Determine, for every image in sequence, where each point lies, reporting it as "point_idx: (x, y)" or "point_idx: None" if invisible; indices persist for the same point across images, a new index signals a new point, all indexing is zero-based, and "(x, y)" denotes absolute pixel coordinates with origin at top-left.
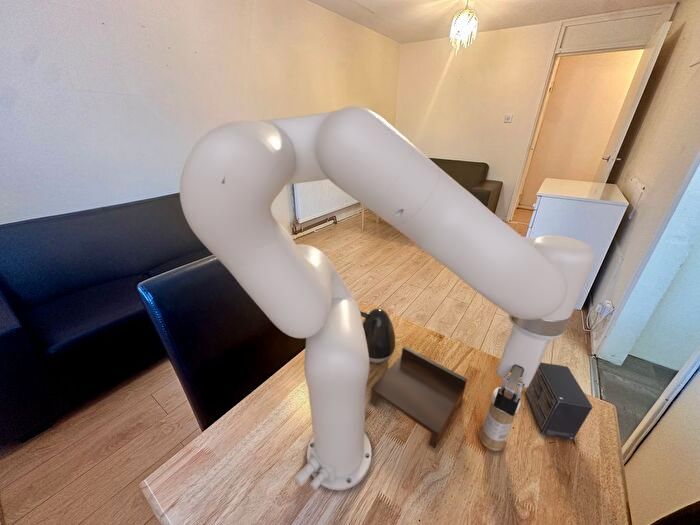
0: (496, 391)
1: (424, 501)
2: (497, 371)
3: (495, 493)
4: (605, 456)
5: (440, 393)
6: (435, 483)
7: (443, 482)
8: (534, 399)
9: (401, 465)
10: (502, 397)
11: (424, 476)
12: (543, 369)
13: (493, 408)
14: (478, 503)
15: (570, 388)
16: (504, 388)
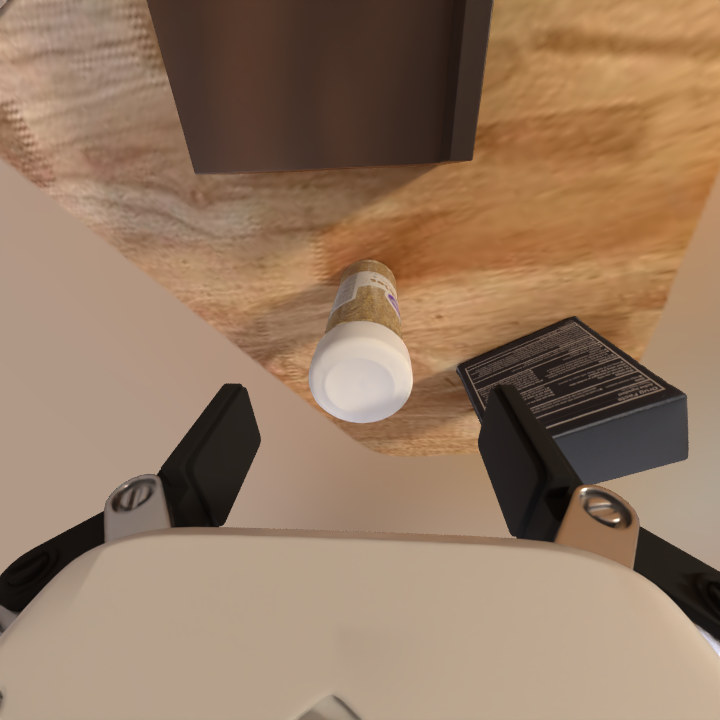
0: (354, 349)
1: (119, 218)
2: (21, 612)
3: (265, 326)
4: (473, 443)
5: (352, 75)
6: (169, 220)
7: (188, 235)
8: (541, 353)
9: (111, 112)
10: (159, 476)
11: (155, 188)
12: (640, 413)
13: (328, 329)
14: (222, 308)
15: None
16: (8, 604)
